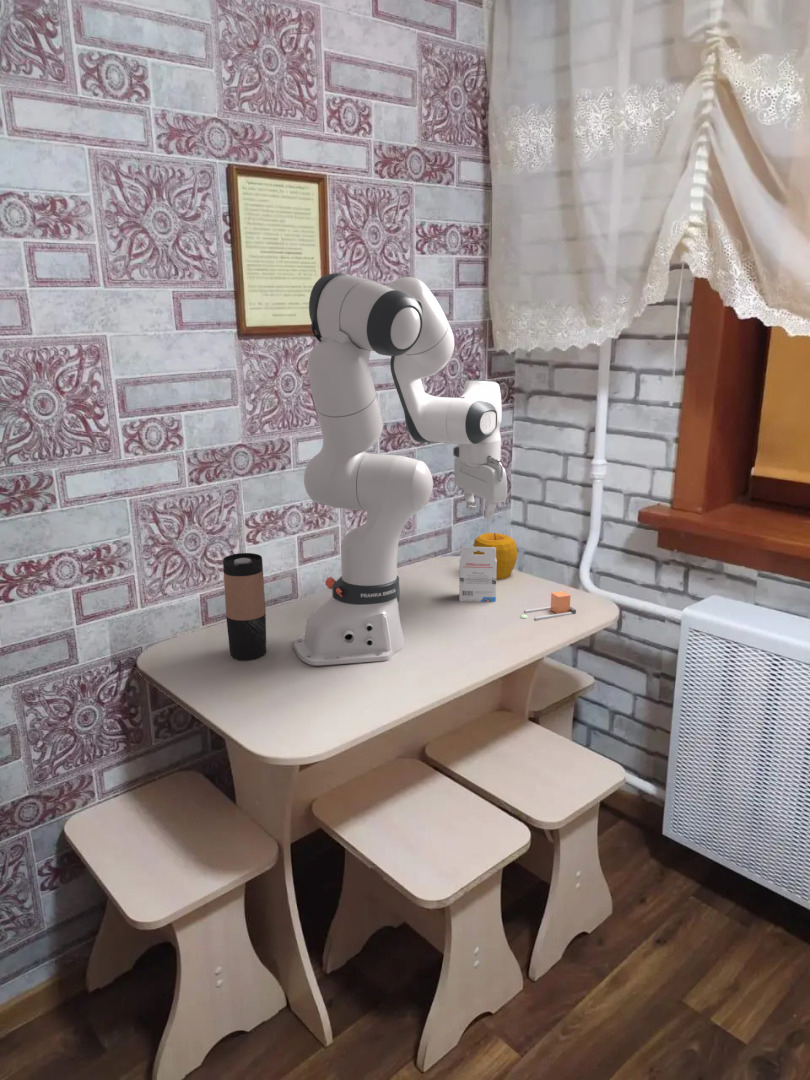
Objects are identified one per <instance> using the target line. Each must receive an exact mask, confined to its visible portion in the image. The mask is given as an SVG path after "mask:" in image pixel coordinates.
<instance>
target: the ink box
mask: <svg viewBox="0 0 810 1080" xmlns="http://www.w3.org/2000/svg"><path fill="white" fill-rule="evenodd" d="M477 551H480V552H484V553H485V554H484V555H474V552H477ZM496 564H497V561H496V548H495V547H473V546H461V547H460V557H459V582H458V583H459V586H458V587H459V594H458V595H459V598H458V599H459V602H465V603H466V602H468V603H469V602H472V603H473V602H477V603H478V602H479V603H480V602H481V603H482V602H483V603H484V602H485V603H488V602H489V603H490V602H491V603H493V602H494V603H495V602H496V601H497V580H496Z"/></svg>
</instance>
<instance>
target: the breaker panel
mask: <svg viewBox="0 0 810 1080" xmlns="http://www.w3.org/2000/svg"><path fill="white" fill-rule="evenodd" d="M546 610H551V605H550V606H544V607H537V608H529V609H524V610H523V612H524V613H525V614H521V615H520V616H519V618H520V619H528V617H529V616H528V615H527V614H530V613H535V612H536V613H537V612H541V611H546ZM576 614H577V609H575V608H574V607H572V606H570V612H566V613H559V614H556V613H553V614H546V615H539V616H534V617H533V619H534V620H535V621H541V620H546V619H547V620H548V619H553V618H557V617H563V616H569V615H576Z"/></svg>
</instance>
